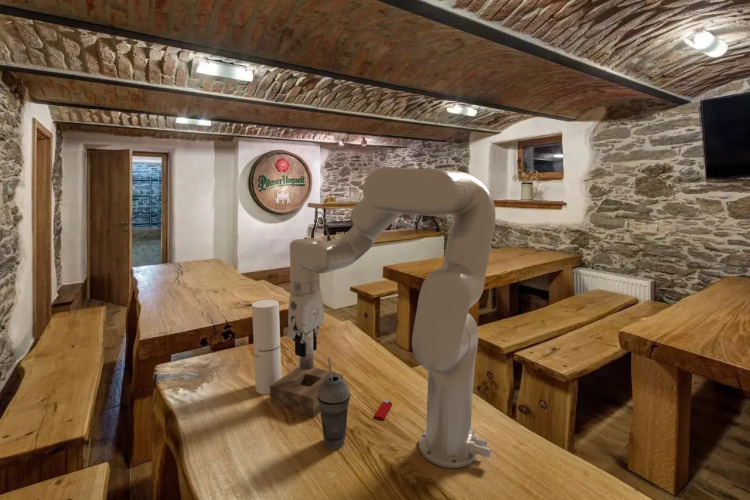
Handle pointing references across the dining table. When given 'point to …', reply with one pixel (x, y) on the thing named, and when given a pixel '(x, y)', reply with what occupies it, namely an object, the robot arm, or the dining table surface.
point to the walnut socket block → (300, 390)
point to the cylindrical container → (266, 344)
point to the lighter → (383, 410)
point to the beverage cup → (333, 409)
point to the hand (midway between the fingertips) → (306, 351)
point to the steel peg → (307, 352)
